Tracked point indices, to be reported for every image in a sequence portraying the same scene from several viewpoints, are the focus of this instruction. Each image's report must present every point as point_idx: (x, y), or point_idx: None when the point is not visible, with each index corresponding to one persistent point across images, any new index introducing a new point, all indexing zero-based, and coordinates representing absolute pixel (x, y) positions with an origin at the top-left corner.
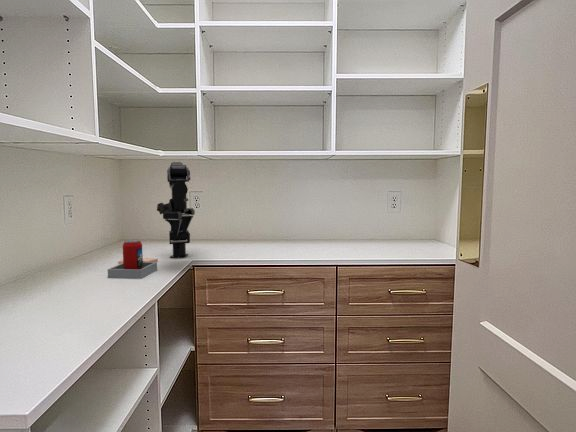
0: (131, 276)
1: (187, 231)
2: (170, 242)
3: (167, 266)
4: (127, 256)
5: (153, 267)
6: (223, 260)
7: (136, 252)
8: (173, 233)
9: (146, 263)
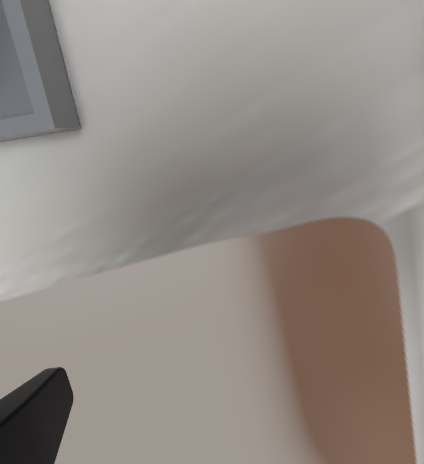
0: None
1: None
2: None
3: (193, 137)
4: None
5: (13, 137)
6: (421, 392)
7: None
8: (5, 397)
9: (18, 46)
